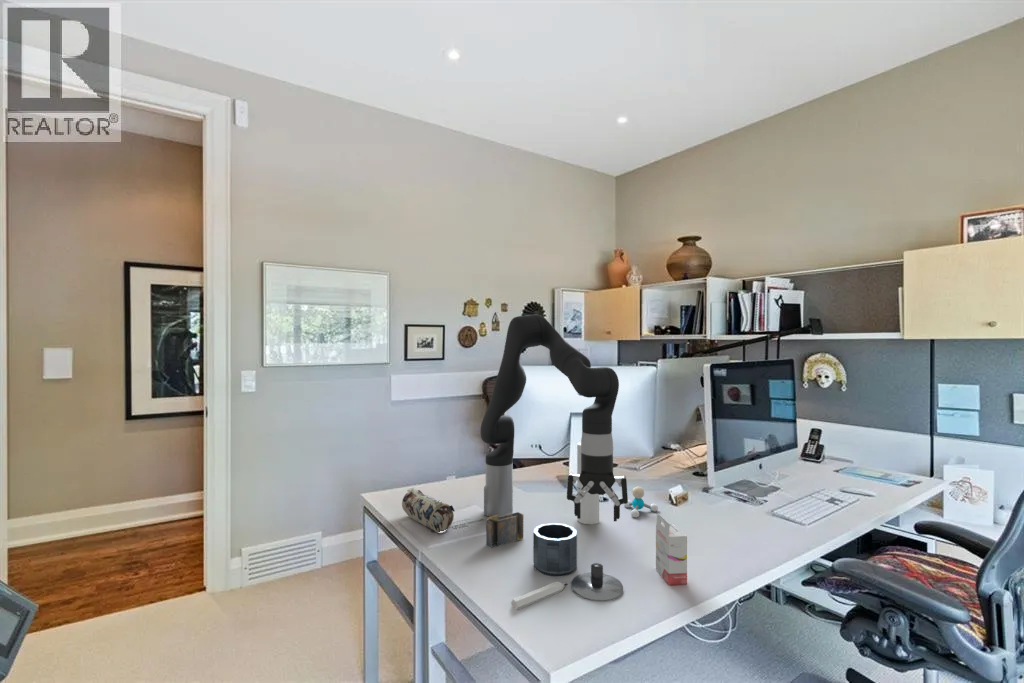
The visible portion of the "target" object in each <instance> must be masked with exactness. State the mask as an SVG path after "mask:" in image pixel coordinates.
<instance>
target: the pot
mask: <svg viewBox="0 0 1024 683" xmlns="http://www.w3.org/2000/svg"><path fill="white" fill-rule="evenodd" d="M532 539H533V544H532V545H533V546H532V547H533V549H532V550H533V553H532V554H533V555H532V556H533V557H532V558H533V567H534V569H535V570H536V571H537V572H539V573H541V574H542V575H546V576H549V577H550V576H551V577H565V576H568V575H572V574H573V573H575V572H576V570H577V569H578V530H577V529H576V528H574V526H571V525H568V524H565V523H557V522H550V523H542V524H539V525H538V526H536V527H534V529H533V536H532Z"/></svg>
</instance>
